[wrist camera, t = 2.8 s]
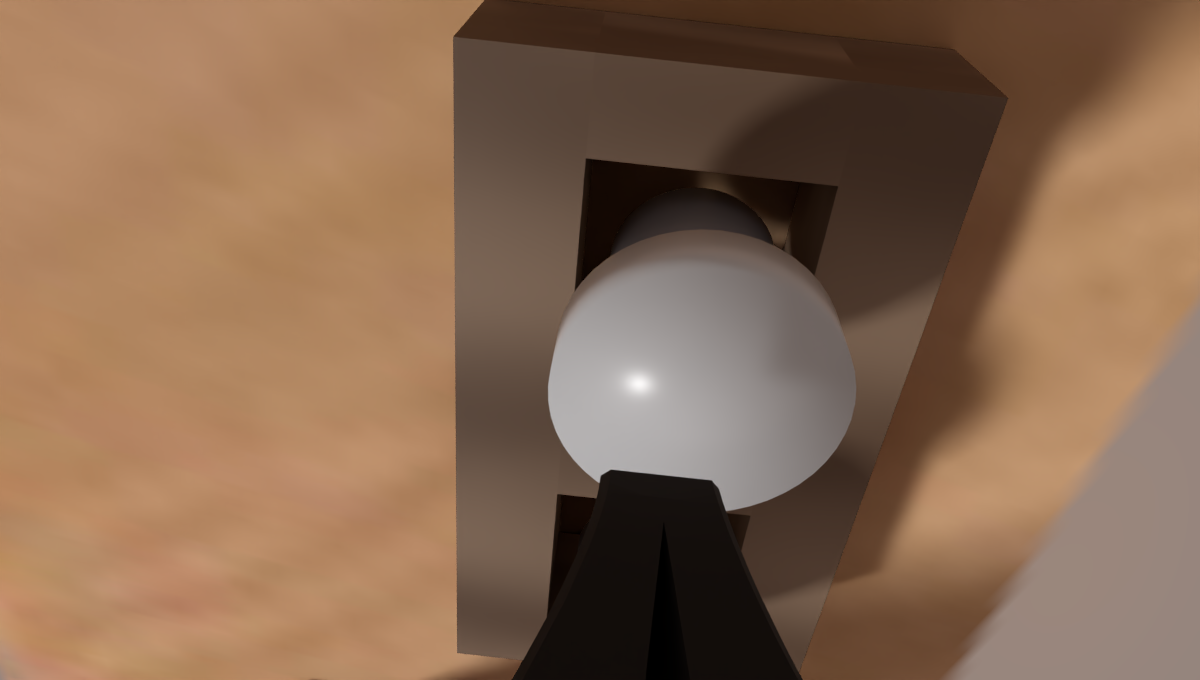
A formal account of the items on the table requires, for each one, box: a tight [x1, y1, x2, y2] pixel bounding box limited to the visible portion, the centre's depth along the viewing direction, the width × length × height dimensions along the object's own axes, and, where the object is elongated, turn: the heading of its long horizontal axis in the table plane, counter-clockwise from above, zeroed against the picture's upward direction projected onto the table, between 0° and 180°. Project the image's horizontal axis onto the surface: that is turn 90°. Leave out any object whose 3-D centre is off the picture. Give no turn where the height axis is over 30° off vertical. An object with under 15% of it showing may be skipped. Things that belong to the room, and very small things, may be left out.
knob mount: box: [453, 0, 1008, 672], centre depth 19 cm, size 16×9×3 cm, turn 175°
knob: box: [548, 188, 856, 511], centre depth 14 cm, size 5×5×4 cm
